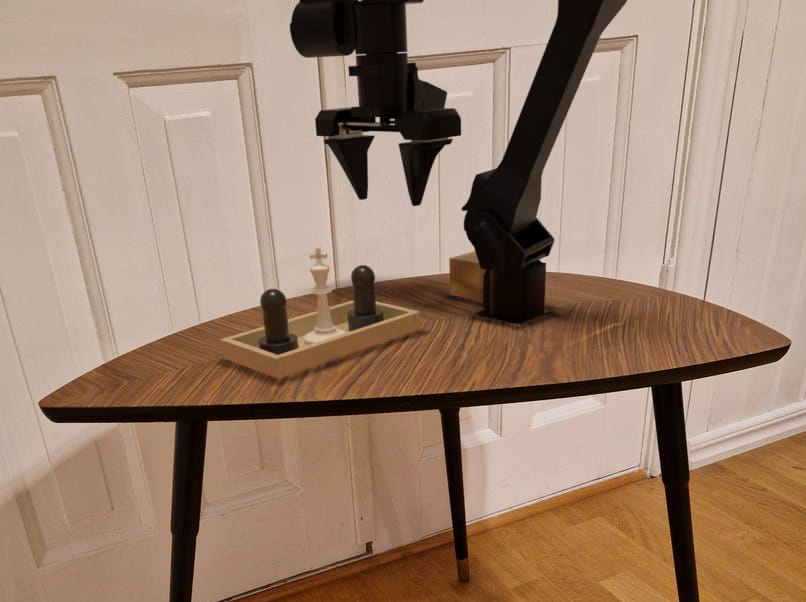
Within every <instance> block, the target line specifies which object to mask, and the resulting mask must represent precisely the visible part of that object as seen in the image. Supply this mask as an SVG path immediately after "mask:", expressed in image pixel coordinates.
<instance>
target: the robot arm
mask: <svg viewBox="0 0 806 602" xmlns="http://www.w3.org/2000/svg"><path fill="white" fill-rule="evenodd" d="M424 1H425V0H299V1H298V3H297V4H296V5H295V7H294V8H293V11H292V14H291V22H290V23H289V32H290V37H291V41H292V44H293V46H294V48H295V50H296V51H297V53H298V54H299V55H300V56H301V57H303V58H305V59H311V58H330V57H346V56H347V57H348V56H351V55H352V54H353V53H355V65H348V77H356V82H357V98H358V99H357V100H358V106H351V107H340V108H328V109H321V110H319V112H318V113H317V115H316V117H315V119H314V122H315V124H314V125H315V133H316V134H315V136H316V137H327V138H324V139H323V143H324V145H327V146H328V147H329V149H330V150H331V152H332V153H333V155H334V157H335V159H336V160H337V162H338V163H339V165H340V167H341V169H342V170H343V173H344V174H345V175H346V177H347V178H346V179H348V181H349V183H350V185H351V187H352V189H353V191H354V193H355V195H356V197H357V199H358V200H360V201H364V200H367V199H368V194H369V163H368V162H369V159H368V157H369V155H368V153H369V149H370V147H371V145H372V143H373V141H374V139H375V135H372V134H371V135H369V134H364V133H369V132H384V133H399V134H400V135H401V136H402V138H403V139H404V141H405V142H398V148H399V153H400V158H401V163H402V167H403V173H404V178H405V183H406V187H407V193H408V196H409V199H410V202H411V203H410V204H411V206H412V207H417V206H421V204H422V202H423V199H424V195H425V192H426V189H427V184H428V182H429V179H430V174H431V172H432V168H433V166H434V163H435V160H436V158H437V156H438V155H439V154H440V152H441V151H442V150H443V149H444V148H445V146H448V145H452V142H453V140H454V139H453V138H455V137H460V136H462V117H461V115H460V114H459V113H458V111H457V109H456V107H454V108H453V107H446V103H447V97H448V91H447V90H445V89H442V88H441V87H438V86H436V85H435V84H432V83H431V82H428V81H425V80H422V79H420V78H419V70H418V69H419V68H418V66H417V64H416V62H409V57H408V56H409V55H408V33H407V32H408V29H407V5H414V4H415V5H416V4H422V3H423V2H424ZM627 2H628V0H557V14H556V20H555V23H554V26H553V28H552V31H551V33H550V36H549V39H548V41H547V43H546V46H545V49H544V51H543V53H542V57H541V59H540V62H539V64H538V66H537V69H536V72H535V74H534V77H533V80H532V82H531V85H530V87H529V90H528V93H527V95H526V98H525V100H524V102H523V105H522V107H521V110H520V113H519V115H518V118H517V121H516V123H515V126H514V128H513V131H512V134H511V136H510V138H509V141H508V144H507V146H506V149H505V151H504V154H503V156H502V159H501V161H500V163H498V166H497V167H495V168H493V169H490V170H486V171H483V172H480V173H477V174H476V175H475V176H474V179H473V181H472V184H471V189H470V194H469V197H468V199H467V201H466V203H465V204H464V205H463V206H462V207H461V211H462V212H466V213H465V215H464V218H463V231H464V232H465V234H466V237H467V240H468V241H469V242H470V244H471V245H472V246H473V249H474V251H475V252H476V255H477V258H478V261H479V265H480V268H481V269H486V273H484V274H483V300H482V307H483V309H482V310H480V311H477V312H476V315H477V316H480V317H485V318H489V319H492V320H497V321H502V322H505V323H509V324H510V323H511V324H515V325H521V324H525V323H527V322H529V321H532V320H535V319H538V318H540V317H542V316H545V315H548V314H551V313H553V312H554V311H553V309H552V308H547V307H545V306H546V281H547V280H546V279H547V262H543V261H541V260H542V259H543V258H547V257H549V256H550V254H551V251H552V249H553V246H554V244H555V238H554V236H553V235H552V234H551V233H550V231H549V230H548V229H547V228H546V227H545V226H544V225H543V223H542V222H541V221H540V220H539V218H538V217H537V215H538V212H539V208H540V203H541V199H542V178H543V173H544V169H545V167H546V165H547V162H548V160H549V159H550V155H551V153H552V150H553V148H554V146H555V144H556V141H557V139H558V137H559V134H560V132H561V130H562V127H563V125H564V122H565V120H566V118H567V116H568V113H569V111H570V108H571V106H572V103H573V101H574V99H575V96H576V93H577V92H578V90H579V88H580V85H581V83H582V80H583V78H584V75H585V73H586V71H587V68H588V66H589V64H590V61H591V59H592V56H593V54H594V52H595V49H596V47H597V45H598V43H599V40H600V38H601V36H602V34H603V33H604V31H605V30H606V29H607V28H608V26H609V25H610V24H611V23H612V21H613V20H614V19H615V17H616V16H617V15H618V14H619V12H620V11H621V10H622V9H623V7H624V6H625V5H626V4H627ZM377 118H379V121H377Z"/></svg>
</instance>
